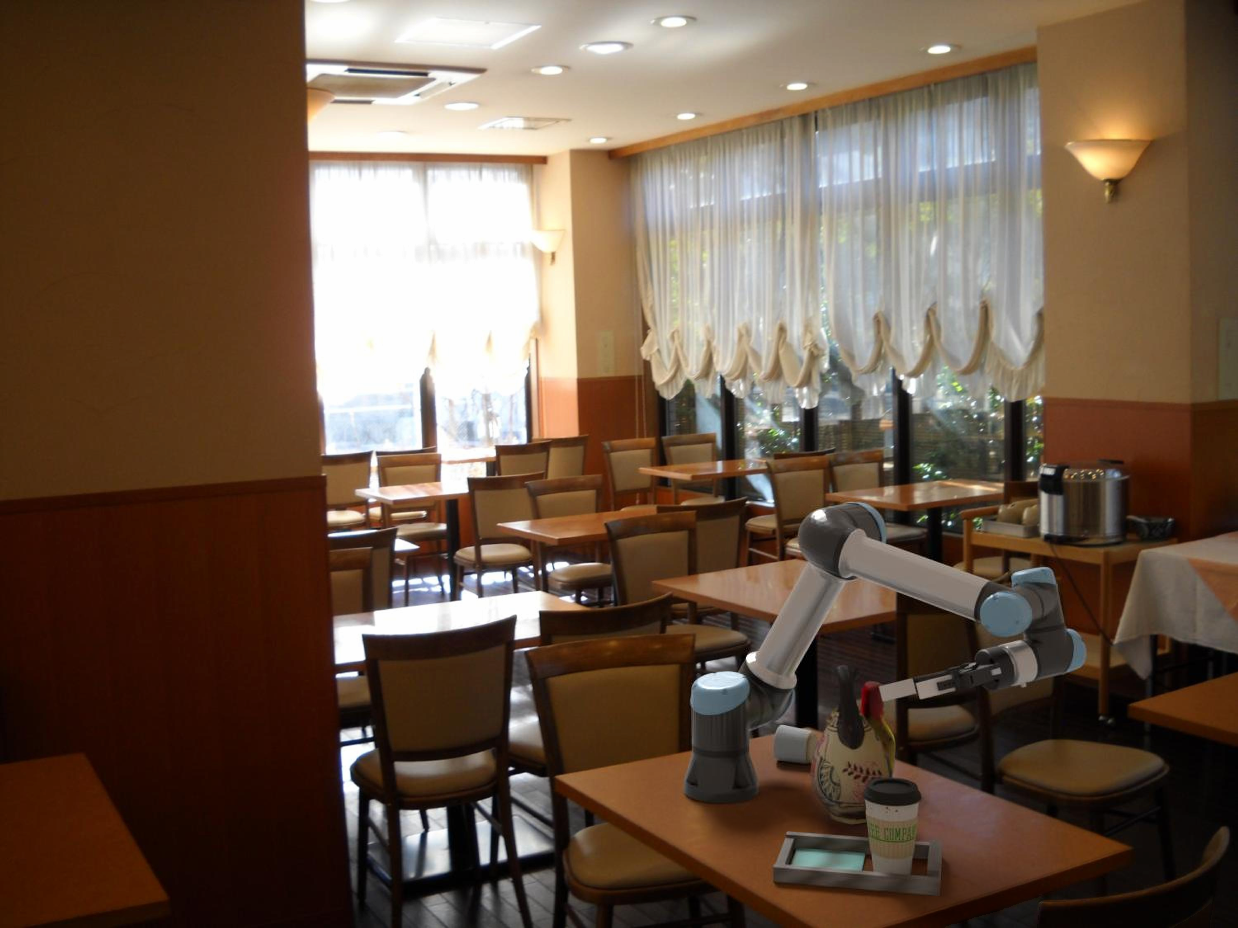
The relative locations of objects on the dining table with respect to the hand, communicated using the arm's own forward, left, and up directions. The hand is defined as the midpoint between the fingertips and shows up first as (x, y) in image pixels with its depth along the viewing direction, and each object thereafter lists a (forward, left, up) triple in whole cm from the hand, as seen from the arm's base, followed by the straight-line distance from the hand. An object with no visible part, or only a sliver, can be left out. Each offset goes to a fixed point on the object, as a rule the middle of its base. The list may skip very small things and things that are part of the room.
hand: (899, 692), depth 223 cm
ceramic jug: (-10, +18, -29) cm, 36 cm away
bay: (-6, -7, -29) cm, 31 cm away
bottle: (-8, +45, -29) cm, 54 cm away
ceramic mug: (-25, +53, -30) cm, 66 cm away
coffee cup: (-1, -7, -29) cm, 30 cm away
